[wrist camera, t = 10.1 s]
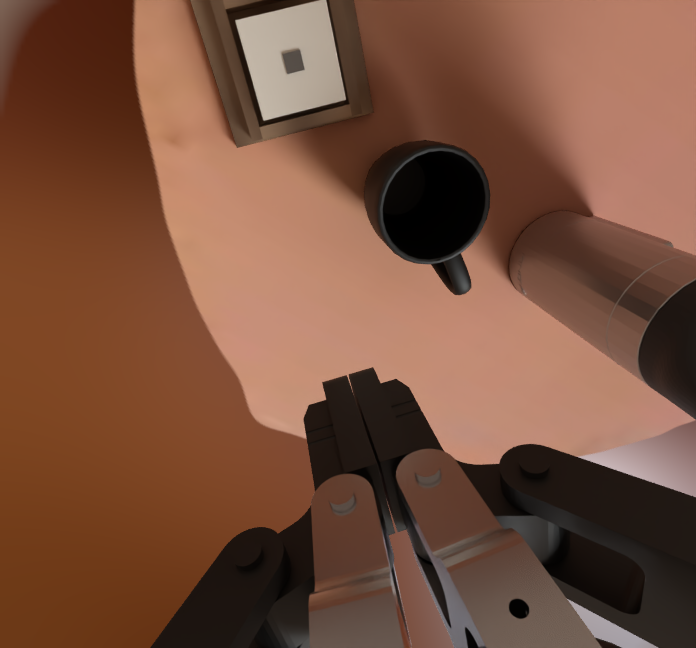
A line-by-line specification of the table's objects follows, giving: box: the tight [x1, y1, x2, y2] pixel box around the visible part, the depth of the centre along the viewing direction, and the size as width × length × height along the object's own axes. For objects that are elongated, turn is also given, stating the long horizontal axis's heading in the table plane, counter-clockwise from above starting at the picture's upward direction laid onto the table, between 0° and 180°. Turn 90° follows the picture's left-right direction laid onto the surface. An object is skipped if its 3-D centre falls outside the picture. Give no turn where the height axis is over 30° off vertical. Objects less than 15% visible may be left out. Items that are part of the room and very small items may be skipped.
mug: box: [364, 140, 490, 295], centre depth 36 cm, size 8×12×10 cm
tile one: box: [235, 0, 346, 121], centre depth 32 cm, size 6×6×3 cm
